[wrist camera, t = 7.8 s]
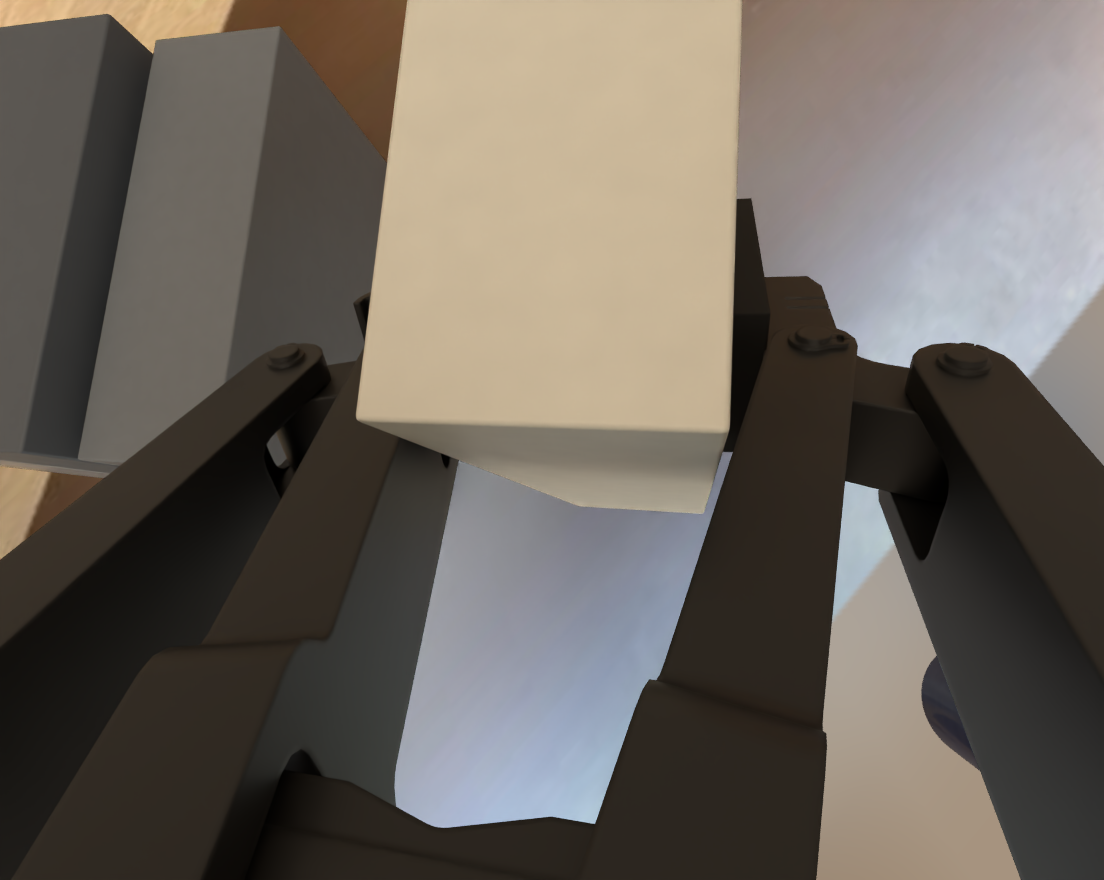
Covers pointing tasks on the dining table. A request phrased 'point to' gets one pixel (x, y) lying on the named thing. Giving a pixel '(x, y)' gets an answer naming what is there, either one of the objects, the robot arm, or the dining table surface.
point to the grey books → (166, 229)
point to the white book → (562, 245)
